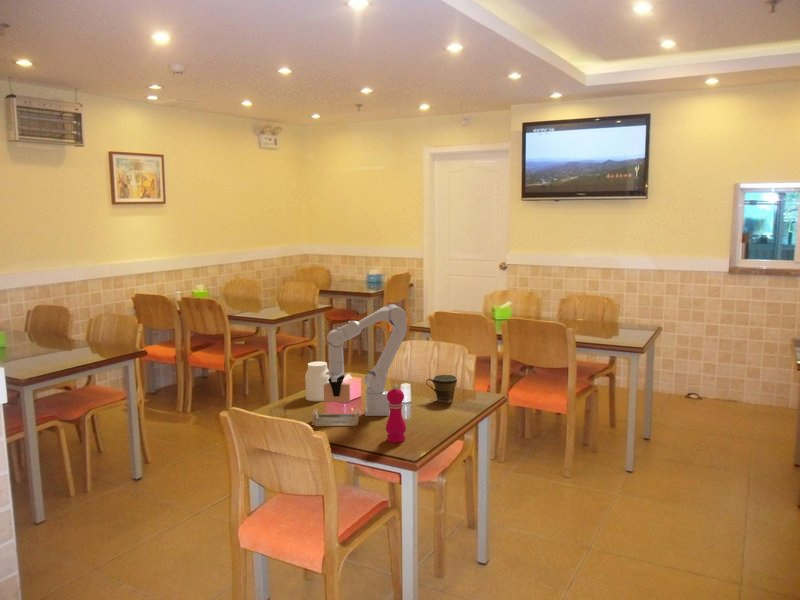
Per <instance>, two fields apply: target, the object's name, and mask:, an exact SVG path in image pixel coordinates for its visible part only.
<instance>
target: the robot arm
mask: <svg viewBox="0 0 800 600" xmlns="http://www.w3.org/2000/svg"><path fill="white" fill-rule="evenodd" d="M407 319H408V315H407V313H406V311H405V310H404V309H403V308H402V307H401V306H397V304H395V303H390V304H387V305H386V306H382V307H381V308H379V309H378V310H376V311H374V312H372V313H371V314H368V315H367V316H365V317H363V318H362V319H360V320H359V321H356V320H348V321H347V323H345V324H344V325H342V326H340V327H339V326H337V327H336V329H331V330H330V331H328V333H327V336H326V340H327V342H328V350H327V351H328V370H329V372H326V374H327V375H330V378H329V379H328V381H329V383H330V385H331V387H332V391H333V395H334V396H339V395H340V389H341V384H342V383H344V382H343V381H344V378H345V377H346V376H345V367H344V366H345V365H344V362H345V361H344V343H345V342H347V341H349V340H350V339H352V338H353V339H354V337H356V336H359V335H360V334H362V330H363V329H366V328H367V327H370V326H371V325H373V324H376V323H378V322H389V324H390V326H391V329H392V332H391V334H390V335H389V338H388V340H387V342H386V345H385V346H384V347H383V350H382V352H381V354H380V356H379V358H378V360H377V362H376V364H375V365H374V366H373V367H372V368H371V370H370V372H368V373H367V374H365V375H366V376H365V377H364V384H365V385H366V386H367V387H366V390H365V400H366V401H365V403H366V406H365V407H366V408H365V412H364V416H365V417H375V416H376V417H384V416H385V417H386V416H390V408H389V407H388V406H389V404H388V403H389V401H388V400H387V393H388V392H389V391H390V390H388V391H387V390H385V389H386V383H387V382H386V381H387V379H388V372H389V369H390V368H391V365H392V363H393V361H394V359H395V357H396V355H397V353H398V351H399V349H400V346H401V345H402V344H403V343H402V342H403V341H404V340H405V339H404V338H405V336H406V334H407V332H408V324H407V323H408V321H407Z"/></svg>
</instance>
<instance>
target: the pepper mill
mask: <svg viewBox="0 0 800 600" xmlns="http://www.w3.org/2000/svg"><path fill="white" fill-rule="evenodd" d="M388 391H389V392H388V393H387V400H388V401H389V403H388V404H389V406H388V407H389V408H390V411H389V417H388V419H387V422H386V424H385V431H386V433H387V435H386V440H387V442H389V443H392V444H401V443H403V442H404V441H405V440H406V435H405V433H406V431H407V424H406V421H405V419H404V418H403V414H402V408H403V407H404V406H403V404H404V402H403V401H404V399H405V394H404V392H403V391H402V390H401V389H399V387H398V385H397V384H393V385H392V389H390V390H388Z"/></svg>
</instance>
